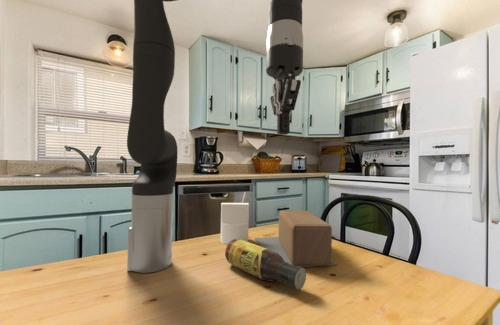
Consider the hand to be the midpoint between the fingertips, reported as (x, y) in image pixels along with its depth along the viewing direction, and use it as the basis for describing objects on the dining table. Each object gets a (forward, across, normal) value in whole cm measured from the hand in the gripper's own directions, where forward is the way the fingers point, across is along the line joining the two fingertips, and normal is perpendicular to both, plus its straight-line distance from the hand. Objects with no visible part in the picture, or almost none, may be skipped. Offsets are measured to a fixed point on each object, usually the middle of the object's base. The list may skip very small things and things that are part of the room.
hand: (283, 134), depth 50 cm
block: (+26, -7, +10) cm, 28 cm away
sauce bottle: (+28, -13, -8) cm, 32 cm away
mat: (+31, -20, +9) cm, 38 cm away
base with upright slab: (+31, -31, -6) cm, 44 cm away
